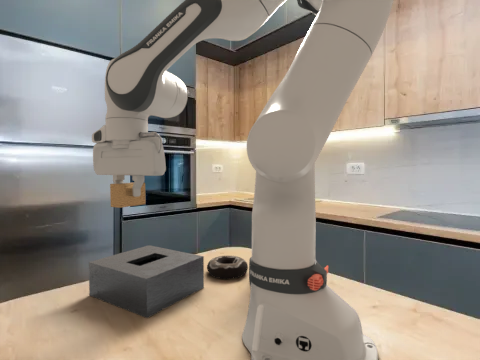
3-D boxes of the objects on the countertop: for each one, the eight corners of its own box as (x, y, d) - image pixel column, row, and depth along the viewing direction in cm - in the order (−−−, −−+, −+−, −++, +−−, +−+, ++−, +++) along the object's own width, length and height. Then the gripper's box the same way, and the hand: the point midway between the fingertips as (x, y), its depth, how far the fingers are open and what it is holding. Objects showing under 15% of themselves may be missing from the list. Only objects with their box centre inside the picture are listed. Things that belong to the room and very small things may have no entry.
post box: (203, 287, 76) (203, 256, 75) (147, 318, 60) (146, 278, 60) (149, 272, 86) (148, 245, 86) (89, 295, 71) (88, 262, 71)
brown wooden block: (145, 204, 70) (145, 182, 69) (119, 207, 64) (119, 184, 63) (136, 203, 71) (136, 182, 71) (110, 206, 65) (110, 183, 65)
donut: (236, 284, 78) (236, 269, 78) (199, 276, 84) (198, 262, 83) (254, 270, 89) (254, 257, 89) (219, 264, 94) (219, 252, 94)
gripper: (172, 132, 64) (172, 196, 65) (111, 137, 75) (112, 193, 75) (149, 129, 59) (150, 199, 59) (87, 135, 69) (88, 195, 70)
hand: (128, 195), depth 67 cm, fingers closed on brown wooden block, 3 cm apart
